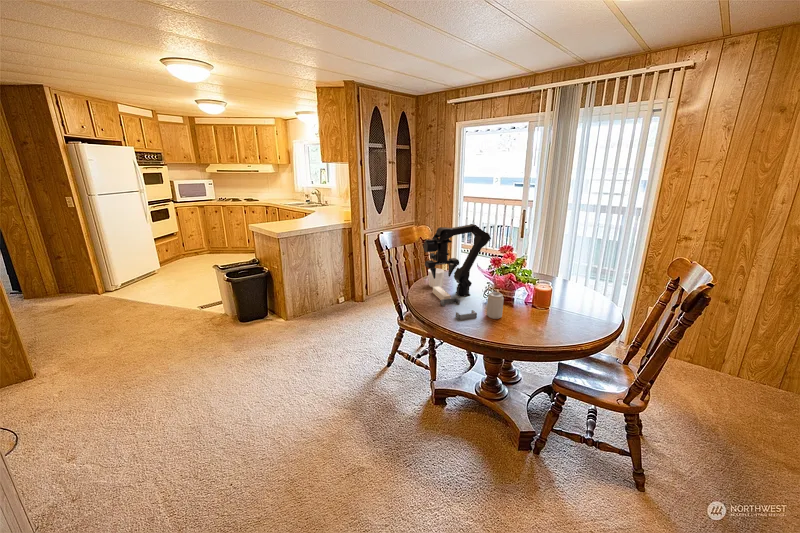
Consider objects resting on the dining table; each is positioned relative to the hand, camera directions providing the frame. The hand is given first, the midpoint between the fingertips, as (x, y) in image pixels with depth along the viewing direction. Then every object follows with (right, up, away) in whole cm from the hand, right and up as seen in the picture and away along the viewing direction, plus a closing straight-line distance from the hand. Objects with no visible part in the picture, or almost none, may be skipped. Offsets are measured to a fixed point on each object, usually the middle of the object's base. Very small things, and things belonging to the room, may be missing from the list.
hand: (441, 277), depth 187 cm
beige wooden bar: (0, -12, +3) cm, 12 cm away
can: (+23, -19, -22) cm, 37 cm away
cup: (-1, -6, +22) cm, 23 cm away
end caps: (+6, -17, -15) cm, 23 cm away
